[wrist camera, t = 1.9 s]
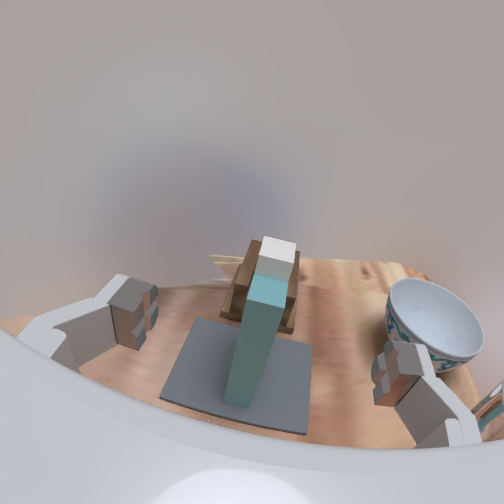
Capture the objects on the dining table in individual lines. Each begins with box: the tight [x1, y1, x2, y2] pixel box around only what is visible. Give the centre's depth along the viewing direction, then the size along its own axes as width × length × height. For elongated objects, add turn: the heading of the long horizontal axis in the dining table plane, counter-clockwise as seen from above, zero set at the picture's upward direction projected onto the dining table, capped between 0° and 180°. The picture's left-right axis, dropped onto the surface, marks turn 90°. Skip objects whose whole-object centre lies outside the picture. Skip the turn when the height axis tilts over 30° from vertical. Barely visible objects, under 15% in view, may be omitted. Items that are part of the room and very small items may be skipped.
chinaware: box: [385, 278, 484, 373], centre depth 33 cm, size 15×15×8 cm
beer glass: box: [470, 380, 504, 443], centre depth 14 cm, size 7×7×15 cm
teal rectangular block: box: [223, 236, 296, 409], centre depth 26 cm, size 2×9×15 cm, turn 170°
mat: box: [160, 317, 312, 435], centre depth 30 cm, size 14×12×1 cm
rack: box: [220, 240, 300, 334], centre depth 39 cm, size 9×11×6 cm
